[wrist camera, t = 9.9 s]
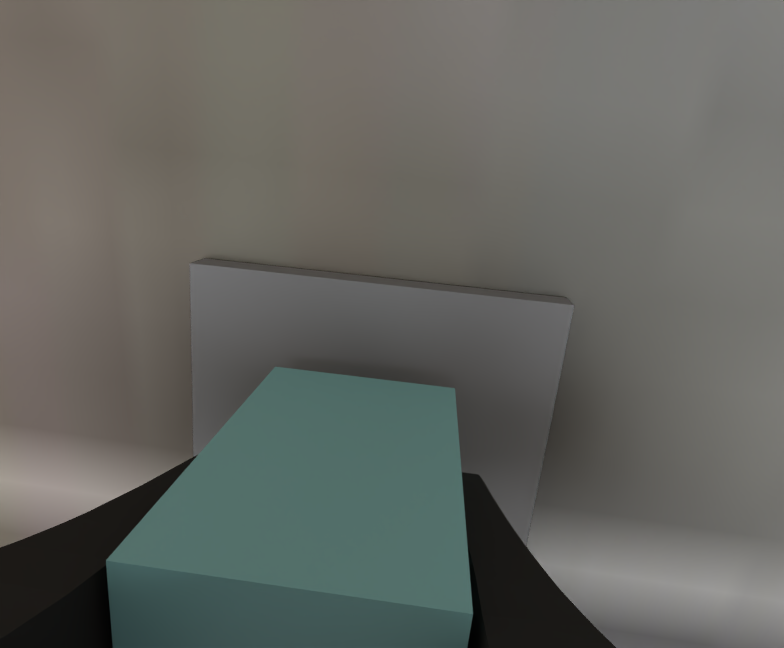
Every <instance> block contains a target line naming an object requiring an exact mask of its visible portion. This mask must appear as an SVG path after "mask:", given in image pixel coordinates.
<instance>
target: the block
mask: <svg viewBox="0 0 784 648" xmlns="http://www.w3.org/2000/svg"><path fill="white" fill-rule="evenodd" d="M106 568H107V581H108V593H109V606H110V618H111V631H112V644H113V648H467V646H468V640H469V634H470V629H471V623H472V617H473V608H472V595H471V583H470V570H469V558H468V545H467V533H466V520H465V508H464V496H463V483H462V471H461V458H460V446H459V433H458V421H457V408H456V396H455V388H449V387H441V386H432V385H424V384H416V383H407V382H399V381H391V380H382V379H374V378H366V377H358V376H349V375H341V374H333V373H324V372H316V371H308V370H299V369H291V368H283V367H274V369H273V370H272V371H271V372H270V373H269V374H268V375H267V377H266V378H265V379H264V380H263V381H262V382H261V383H260V385H259V386H258V387H257V388H256V389H255V390H254V392H253V393H252V394H251V395H250V396H249V397H248V398H247V400H246V401H245V402H244V403H243V404H242V405H241V406H240V408H239V409H238V410H237V411H236V412H235V413H234V414H233V416H232V417H231V418H230V419H229V420H228V421H227V422H226V424H225V425H224V426H223V427H222V428H221V429H220V430H219V432H218V433H217V434H216V435H215V436H214V437H213V438H212V440H211V441H210V442H209V443H208V444H207V445H206V446H205V448H204V449H203V450H202V451H201V452H200V453H199V454H198V456H197V457H196V458H195V459H194V460H193V461H192V462H191V464H190V465H189V466H188V467H187V468H186V469H185V471H184V472H183V473H182V474H181V475H180V476H179V477H178V479H177V480H176V481H175V482H174V483H173V484H172V485H171V487H170V488H169V489H168V490H167V491H166V492H165V493H164V495H163V496H162V497H161V498H160V499H159V500H158V501H157V503H156V504H155V505H154V506H153V507H152V508H151V509H150V511H149V512H148V513H147V514H146V515H145V516H144V517H143V519H142V520H141V521H140V522H139V523H138V524H137V525H136V527H135V528H134V529H133V530H132V531H131V532H130V533H129V535H128V536H127V537H126V538H125V539H124V540H123V542H122V543H121V544H120V545H119V546H118V547H117V548H116V550H115V551H114V552H113V553H112V554H111V555H110V556H109V558H108V559H107V560H106Z"/></svg>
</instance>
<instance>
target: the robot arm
mask: <svg viewBox="0 0 784 648" xmlns="http://www.w3.org/2000/svg"><path fill="white" fill-rule="evenodd" d="M197 456H198V455H196V456H194V457H193V458H191V459H189V460H187V461H185V462H184V463H182V464H180V465H178V466H176V467H175V468H173V469H171V470H169V471H167V472H165V473H164V474H162V475H160V476H158V477H156V478H154V479H152V480H151V481H149V482H147V483H145V484H143V485H141V486H139V487H137V488H135V489H133V490H131V491H129V492H127V493H125V494H123V495H121V496H119V497H117V498H115V499H113V500H111V501H109V502H107V503H105V504H103V505H101V506H99V507H97V508H95V509H93V510H91V511H89V512H87V513H85V514H82V515H80V516H78V517H76V518H73V519H71V520H69V521H67V522H64V523H62V524H60V525H57V526H55V527H52V528H50V529H47V530H45V531H42V532H40V533H38V534H35V535H33V536H30V537H28V538H25V539H23V540H20V541H17V542H15V543H12V544H9V545H6V546H4V547H1V548H0V648H113V644H112V631H111V618H110V606H109V593H108V581H107V568H106V560H107V559H108V558H109V556H110V555H111V554H112V553H113V552H114V551H115V550H116V548H117V547H118V546H119V545H120V544H121V543H122V542H123V540H124V539H125V538H126V537H127V536H128V535H129V533H130V532H131V531H132V530H133V529H134V528H135V527H136V525H137V524H138V523H139V522H140V521H141V520H142V519H143V517H144V516H145V515H146V514H147V513H148V512H149V511H150V509H151V508H152V507H153V506H154V505H155V504H156V503H157V501H158V500H159V499H160V498H161V497H162V496H163V495H164V493H165V492H166V491H167V490H168V489H169V488H170V487H171V485H172V484H173V483H174V482H175V481H176V480H177V479H178V477H179V476H180V475H181V474H182V473H183V472H184V471H185V469H186V468H187V467H188V466H189V465H190V464H191V462H192V461H193V460H194V459H195V458H196V457H197ZM462 483H463V496H464V508H465V520H466V533H467V545H468V558H469V570H470V583H471V595H472V608H473V617H472V623H471V629H470V634H469V640H468V646H467V648H616V647H615V646H614V645H613V644H612V643H611V642H610V641H609V640H608V639H607V638H606V637H605V636H604V635H603V634H601V633H600V632H599V631H598V630H597V629H596V628H595V627H594V626H593V624H592V623H591V622H590V621H589V620H588V619H587V618H586V617H585V616H584V615H583V614H582V613H581V612H580V611H579V610H578V609H577V608H576V606H575V605H574V604H573V603H572V602H571V601H570V600H569V599H568V598H567V597H566V596H565V595H564V593H563V592H562V591H561V590H560V589H559V588H558V587H557V585H556V584H555V583H554V582H553V581H552V579H551V578H550V577H549V576H548V574H547V573H546V572H545V571H544V569H543V568H542V567H541V566H540V564H539V563H538V562H537V560H536V559H535V558H534V556H533V555H532V554H531V552H530V551H529V550H528V548H527V547H526V546H525V544H524V543H523V541H522V540H521V538H520V537H519V536H518V534H517V533H516V531H515V530H514V529H513V527H512V526H511V524H510V523H509V521H508V520H507V518H506V517H505V515H504V513H503V512H502V510H501V509H500V507H499V506H498V504H497V502H496V501H495V499H494V498H493V496H492V494H491V493H490V491H489V489H488V487H487V486H486V484H485V482H484V481H483V479H482V478H481V477H480V475H479V474H472V473H464V472H462Z"/></svg>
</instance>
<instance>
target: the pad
mask: <svg viewBox="0 0 784 648" xmlns="http://www.w3.org/2000/svg"><path fill="white" fill-rule="evenodd" d="M190 306H191V357H192V409H193V457H194V456H196V455H198V454H199V453H200V452H201V451H202V450H203V449H204V448H205V446H206V445H207V444H208V443H209V442H210V441H211V440H212V438H213V437H214V436H215V435H216V434H217V433H218V432H219V430H220V429H221V428H222V427H223V426H224V425H225V424H226V422H227V421H228V420H229V419H230V418H231V417H232V416H233V414H234V413H235V412H236V411H237V410H238V409H239V408H240V406H241V405H242V404H243V403H244V402H245V401H246V400H247V398H248V397H249V396H250V395H251V394H252V393H253V392H254V390H255V389H256V388H257V387H258V386H259V385H260V383H261V382H262V381H263V380H264V379H265V378H266V377H267V375H268V374H269V373H270V372H271V371H272V370H273V369H274V367H283V368H291V369H299V370H308V371H316V372H324V373H333V374H341V375H349V376H358V377H366V378H374V379H382V380H391V381H399V382H407V383H416V384H424V385H432V386H441V387H449V388H455V396H456V408H457V421H458V433H459V446H460V458H461V471H462V472H464V473H472V474H479V475H480V477H481V478H482V479H483V481H484V482H485V484H486V486H487V487H488V489H489V491H490V493H491V494H492V496H493V498H494V499H495V501H496V502H497V504H498V506H499V507H500V509H501V510H502V512H503V513H504V515H505V517H506V518H507V520H508V521H509V523H510V524H511V526H512V527H513V529H514V530H515V531H516V533H517V534H518V536H519V537H520V538H521V540H522V541H523V543H524V544H525V546H526V545H527V540H528V535H529V530H530V525H531V520H532V515H533V510H534V505H535V500H536V495H537V490H538V485H539V480H540V475H541V470H542V465H543V460H544V455H545V450H546V445H547V440H548V435H549V430H550V425H551V420H552V415H553V410H554V405H555V400H556V395H557V390H558V385H559V380H560V375H561V370H562V365H563V360H564V355H565V350H566V345H567V340H568V335H569V330H570V325H571V320H572V315H573V310H574V304H572V303H571V302H570V301H569V300H568V299H567V298H566V297H557V296H548V295H538V294H529V293H520V292H511V291H502V290H492V289H483V288H474V287H465V286H456V285H446V284H437V283H428V282H419V281H410V280H400V279H391V278H382V277H373V276H364V275H354V274H345V273H336V272H327V271H318V270H308V269H299V268H290V267H281V266H272V265H262V264H253V263H244V262H235V261H226V260H216V259H207V258H204V259H201V260H198V261H195V262H192V263H190Z"/></svg>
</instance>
